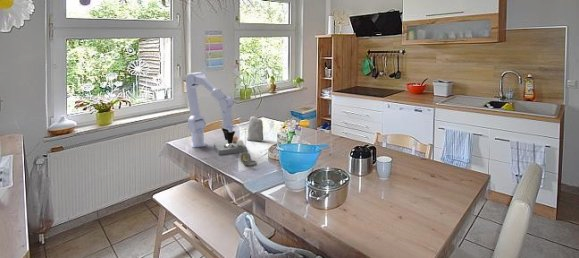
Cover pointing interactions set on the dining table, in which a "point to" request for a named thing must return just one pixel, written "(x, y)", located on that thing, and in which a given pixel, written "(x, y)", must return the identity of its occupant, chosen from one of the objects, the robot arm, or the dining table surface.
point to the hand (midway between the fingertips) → (228, 141)
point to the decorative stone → (255, 129)
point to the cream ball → (239, 142)
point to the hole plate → (222, 150)
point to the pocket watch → (246, 157)
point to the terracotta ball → (235, 139)
